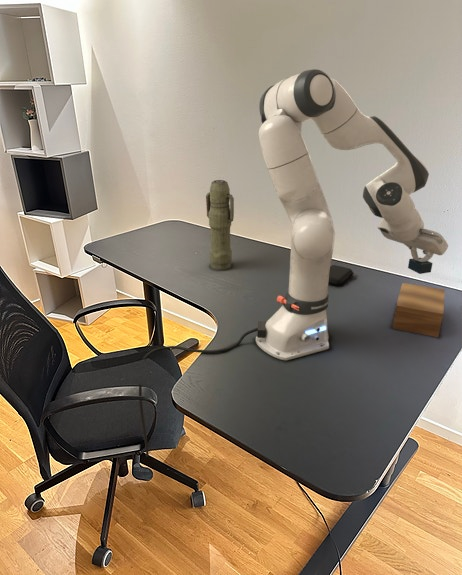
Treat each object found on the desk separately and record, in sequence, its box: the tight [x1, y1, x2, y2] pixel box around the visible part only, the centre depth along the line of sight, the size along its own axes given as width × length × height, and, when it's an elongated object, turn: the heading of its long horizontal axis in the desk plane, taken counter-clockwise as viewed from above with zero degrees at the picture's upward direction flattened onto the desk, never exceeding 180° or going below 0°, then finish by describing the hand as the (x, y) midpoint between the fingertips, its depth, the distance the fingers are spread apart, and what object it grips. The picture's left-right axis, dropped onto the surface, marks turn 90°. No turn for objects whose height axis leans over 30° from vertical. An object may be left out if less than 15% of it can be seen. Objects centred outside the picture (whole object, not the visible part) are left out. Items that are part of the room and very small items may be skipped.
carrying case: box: [328, 264, 355, 287], centre depth 169 cm, size 11×3×15 cm
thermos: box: [205, 179, 235, 271], centre depth 174 cm, size 9×12×35 cm
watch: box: [407, 247, 435, 275], centre depth 139 cm, size 6×8×11 cm
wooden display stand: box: [392, 282, 446, 338], centre depth 139 cm, size 18×13×8 cm
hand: (420, 250), depth 138 cm, fingers closed on watch, 4 cm apart
